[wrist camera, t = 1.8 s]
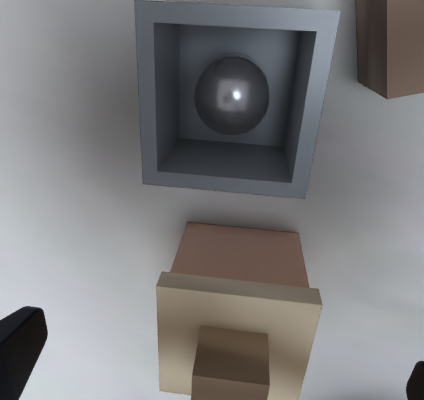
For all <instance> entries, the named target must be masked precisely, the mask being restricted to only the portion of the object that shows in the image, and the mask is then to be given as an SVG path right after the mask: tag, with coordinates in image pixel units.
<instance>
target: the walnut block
mask: <svg viewBox="0 0 424 400" xmlns="http://www.w3.org/2000/svg"><path fill="white" fill-rule="evenodd" d="M355 2H356V31H357V59H358V82H359V83H361V84H362V85H364V86H366V87H368V88H369V89H371V90H373V91H374V92H376V93H378V94H379V95H381V96H383V97H384V98H386V99H390V98H396V97H401V96H407V95H412V94H418V93H423V92H424V0H355Z"/></svg>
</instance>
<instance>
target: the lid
mask: <svg viewBox="0 0 424 400" xmlns="http://www.w3.org/2000/svg"><path fill="white" fill-rule="evenodd" d="M156 292H157V324H158V356H159V388H160V391H163V392H171V393H178V394H185V395H191V400H298V399H299V396H300V392H301V388H302V384H303V380H304V376H305V372H306V368H307V364H308V360H309V356H310V352H311V348H312V344H313V340H314V337H315V333H316V329H317V325H318V321H319V317H320V313H321V309H322V301H321V297H320V293H319V289H314V288H305V287H296V286H287V285H278V284H269V283H260V282H251V281H242V280H233V279H224V278H215V277H206V276H197V275H188V274H179V273H170V272H162V273H161V275H160V278H159V280H158V283H157V286H156Z"/></svg>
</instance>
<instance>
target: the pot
mask: <svg viewBox="0 0 424 400" xmlns="http://www.w3.org/2000/svg"><path fill="white" fill-rule="evenodd" d="M170 273H179V274H188V275H197V276H206V277H215V278H224V279H233V280H242V281H251V282H260V283H269V284H278V285H287V286H296V287H305V288H309V284H308V279H307V274H306V269H305V264H304V259H303V254H302V249H301V244H300V239H299V234H298V233H291V232H280V231H270V230H260V229H250V228H240V227H230V226H220V225H210V224H200V223H190V222H187V225H186V228H185V231H184V234H183V236H182V239H181V242H180V245H179V248H178V251H177V254H176V257H175V260H174V263H173V266H172V269H171V271H170Z"/></svg>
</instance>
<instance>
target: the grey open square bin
mask: <svg viewBox="0 0 424 400" xmlns="http://www.w3.org/2000/svg"><path fill="white" fill-rule="evenodd" d="M134 3H135V25H136V47H137V68H138V90H139V112H140V134H141V155H142V177H143V184H148V185H159V186H170V187H181V188H192V189H202V190H213V191H224V192H235V193H246V194H257V195H268V196H279V197H290V198H300V199H305V197H306V192H307V186H308V181H309V176H310V171H311V165H312V160H313V155H314V149H315V144H316V139H317V134H318V128H319V123H320V118H321V113H322V107H323V102H324V97H325V91H326V86H327V81H328V76H329V70H330V65H331V60H332V54H333V49H334V44H335V39H336V33H337V28H338V23H339V18H340V12H341V11H339V10H319V9H299V8H279V7H260V6H240V5H220V4H200V3H181V2H161V1H141V0H134ZM232 53H239V54H244V55H247V56H250V57H251V58H253V59H254V60H256V61H257V62H258V63H259V64H260V65H261V67H262V68H263V70H264V72H265V74H266V77H267V82H268V88H269V96H270V97H269V106H268V109H267V112H266V114H265V116H264V118H263V119H262V121H261V122H260V123H259V124H258V125H257V126H256V127H255V128H253V129H252V130H250V131H248V132H246V133H244V134H240V135H224V134H220V133H217V132H215V131H213V130H212V129H210V128H209V127H208V126H207V125H206V124H205V123H204V122H203V121H202V120H201V118H200V117H199V115H198V112H197V110H196V107H195V101H194V94H195V88H196V84H197V82H198V80H199V78H200V76H201V75H202V73H203V72H204V71H205V70H206V69H207V68H208V67H209V66H210V65H211V64H212V63H213V62H214V61H215V60H217V59H218V58H220V57H222V56H224V55H227V54H232Z"/></svg>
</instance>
